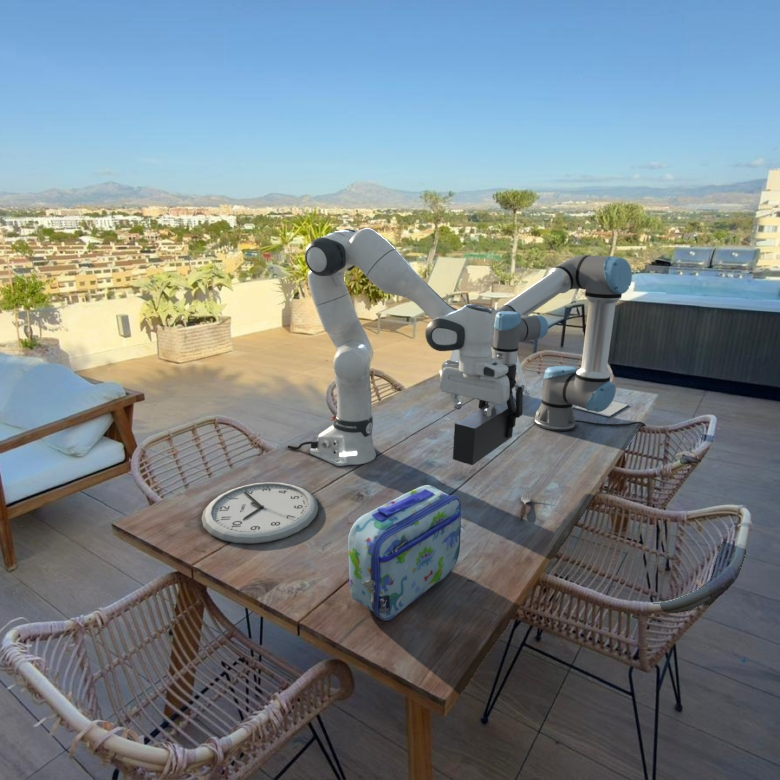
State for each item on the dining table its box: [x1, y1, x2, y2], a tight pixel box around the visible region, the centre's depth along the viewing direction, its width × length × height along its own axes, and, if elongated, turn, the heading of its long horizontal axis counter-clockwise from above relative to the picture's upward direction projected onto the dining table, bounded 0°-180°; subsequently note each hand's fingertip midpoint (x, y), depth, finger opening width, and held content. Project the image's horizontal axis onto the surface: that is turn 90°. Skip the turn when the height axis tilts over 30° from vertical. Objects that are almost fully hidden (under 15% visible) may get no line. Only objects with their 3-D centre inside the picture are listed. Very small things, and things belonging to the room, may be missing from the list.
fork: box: [520, 488, 533, 521], centre depth 143 cm, size 3×16×2 cm, turn 160°
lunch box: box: [347, 484, 462, 621], centre depth 107 cm, size 26×11×21 cm, turn 134°
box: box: [452, 402, 514, 466], centre depth 157 cm, size 26×6×11 cm, turn 143°
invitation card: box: [573, 400, 629, 418], centre depth 226 cm, size 21×1×15 cm
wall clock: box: [201, 481, 319, 544], centre depth 139 cm, size 30×2×30 cm
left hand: (472, 412), depth 147 cm, fingers open, 8 cm apart
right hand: (498, 433), depth 166 cm, fingers closed on box, 6 cm apart
